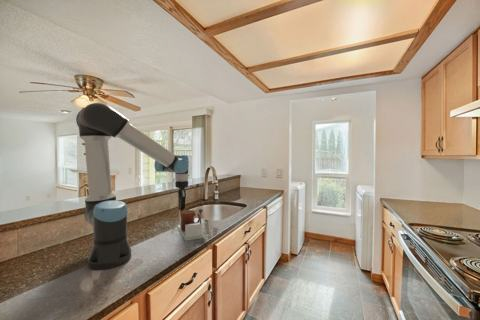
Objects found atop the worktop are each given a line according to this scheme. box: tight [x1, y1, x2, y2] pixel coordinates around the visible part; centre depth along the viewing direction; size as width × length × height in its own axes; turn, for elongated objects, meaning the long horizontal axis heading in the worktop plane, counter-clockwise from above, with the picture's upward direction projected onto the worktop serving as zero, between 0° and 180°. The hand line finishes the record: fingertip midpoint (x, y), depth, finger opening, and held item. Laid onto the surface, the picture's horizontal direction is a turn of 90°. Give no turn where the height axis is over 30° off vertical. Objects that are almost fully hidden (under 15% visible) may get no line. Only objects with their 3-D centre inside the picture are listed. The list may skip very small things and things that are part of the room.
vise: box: [176, 208, 204, 242], centre depth 115 cm, size 10×22×15 cm, turn 27°
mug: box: [180, 209, 200, 231], centre depth 115 cm, size 12×9×10 cm
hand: (181, 219), depth 122 cm, fingers closed
